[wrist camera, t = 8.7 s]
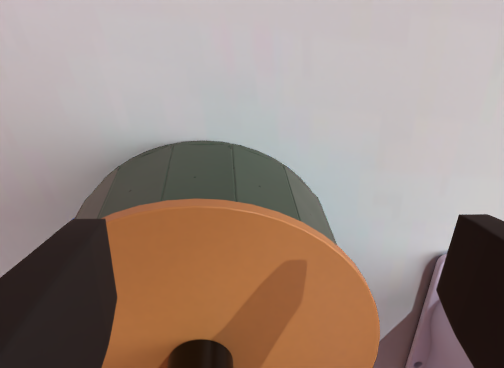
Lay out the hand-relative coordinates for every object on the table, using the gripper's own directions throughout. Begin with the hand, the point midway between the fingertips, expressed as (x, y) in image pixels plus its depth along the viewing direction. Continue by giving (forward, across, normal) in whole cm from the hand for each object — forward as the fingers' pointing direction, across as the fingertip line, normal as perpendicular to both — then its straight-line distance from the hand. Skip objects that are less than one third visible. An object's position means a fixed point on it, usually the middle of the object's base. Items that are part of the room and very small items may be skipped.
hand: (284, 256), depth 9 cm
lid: (+4, +2, +8) cm, 9 cm away
